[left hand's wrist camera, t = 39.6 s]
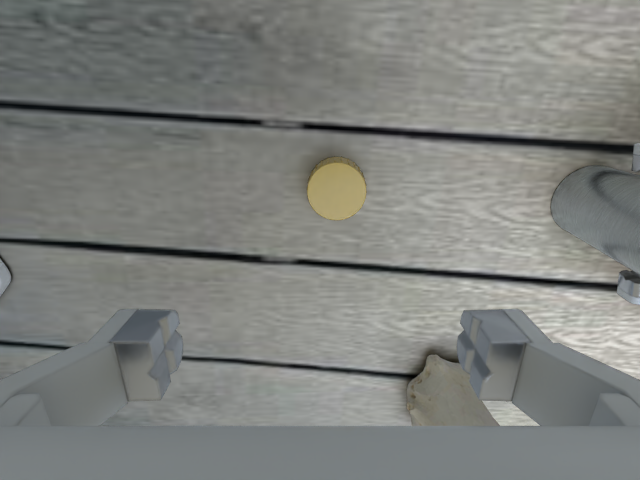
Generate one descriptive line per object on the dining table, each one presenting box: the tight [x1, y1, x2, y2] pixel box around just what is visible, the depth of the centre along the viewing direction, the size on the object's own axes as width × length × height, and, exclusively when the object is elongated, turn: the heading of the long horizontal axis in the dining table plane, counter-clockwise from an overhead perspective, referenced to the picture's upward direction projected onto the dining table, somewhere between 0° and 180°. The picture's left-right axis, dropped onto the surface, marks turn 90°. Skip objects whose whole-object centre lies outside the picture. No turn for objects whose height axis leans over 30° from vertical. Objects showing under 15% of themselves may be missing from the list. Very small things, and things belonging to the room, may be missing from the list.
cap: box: [307, 156, 367, 220], centre depth 26 cm, size 4×4×2 cm
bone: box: [407, 355, 500, 426], centre depth 29 cm, size 9×8×10 cm
